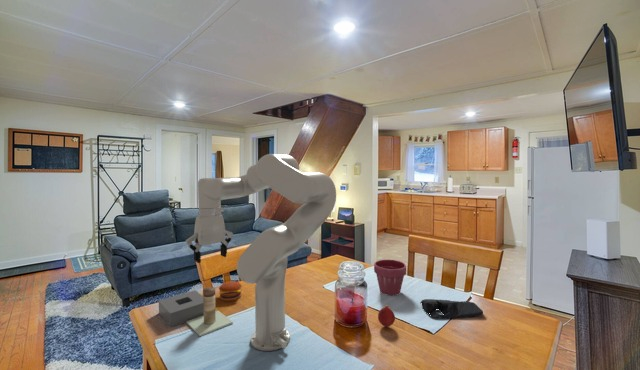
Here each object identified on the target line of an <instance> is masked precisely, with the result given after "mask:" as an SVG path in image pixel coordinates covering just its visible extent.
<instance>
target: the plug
mask: <svg viewBox="0 0 640 370" xmlns="http://www.w3.org/2000/svg"><path fill="white" fill-rule="evenodd" d="M202 291H203V292H202V296H203V303H204V324H207V325H209V324H213V323H214V322H215V321H216V314H215V311H216V287H214V286H208V287H205V288H203V289H202Z"/></svg>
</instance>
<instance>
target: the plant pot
mask: <svg viewBox="0 0 640 370" xmlns="http://www.w3.org/2000/svg"><path fill="white" fill-rule="evenodd" d="M373 272H374V273H375V275H376V280H377V283H378V287H379V288H378V289H379V292H380V293H381V292H382V293H381V294H383V295H385V294H387V295H386V296H398V295H399V294H400V293H401V290H402V286H403V281H404V277H405V276H406V275H407V265H406V263H404V262H402V261H400V260H396V259H380V260H379V259H378V260H376V261H375V262H374V264H373ZM397 294H398V295H397Z"/></svg>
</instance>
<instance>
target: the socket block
mask: <svg viewBox="0 0 640 370" xmlns="http://www.w3.org/2000/svg"><path fill="white" fill-rule="evenodd" d="M158 314H159V315H160V316H161V318H163V320H164V321H165V322H166V324H167V325H168V326H169V327H170V328H172V327H175V326H178V325H180V324H183V323H186V321H189V320H192V319H195V318H198V317H201V316H203V315H204V303H203V294H200V293H199V292H198V291H197V290H195V289H194V290H192V291H188V292H184V293H183V292H182V293H180V294H177V295H174V296H170V297H166V298H162V299H160V300H158Z"/></svg>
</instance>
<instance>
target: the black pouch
mask: <svg viewBox="0 0 640 370" xmlns="http://www.w3.org/2000/svg"><path fill="white" fill-rule="evenodd" d="M421 303H422V305H421V308H422V310H423V309H424V310H423V311H424V313H425V312H426V313H425V314H427V313H428V314H429V313H430V314H429V315H431V317H432V319H433V318H437V319H455V318H471V317H478V316H482V315H483V314H484V311H483V310H482V309H481V307H479V306H478V305H477V304H476V303H475V302H472V301H470V300H466V301H465V300H464V301H461V300H460V301H459V300H457V301H456V300H449V299H448V300H447V299H433V298H431V299H430V298H429V299H427V298H426V299H425V298H424V299H422V300H421V301H420V304H421ZM436 309H439V310H440V311H441V312H442V313H443V314H444V315H443V314H442V313H441V312H440V311H439V312H440V313H438V312H437V310H436ZM428 314H427V315H428ZM429 315H428V316H429ZM431 317H430V318H431Z"/></svg>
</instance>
